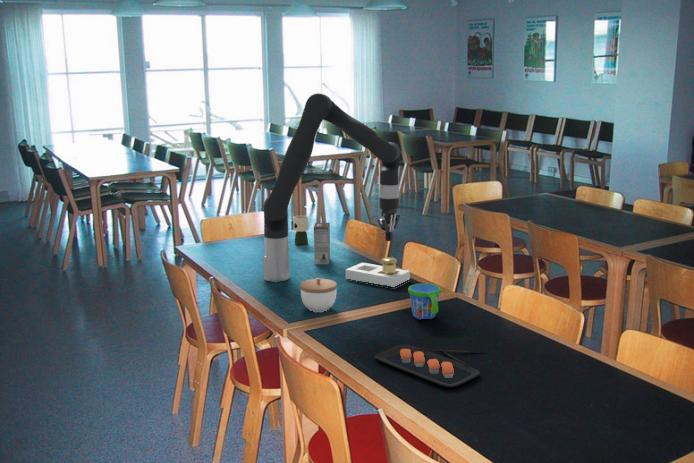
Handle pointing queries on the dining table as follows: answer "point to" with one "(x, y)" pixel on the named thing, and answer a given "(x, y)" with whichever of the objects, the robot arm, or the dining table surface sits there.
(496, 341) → the dining table surface
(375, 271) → the frame
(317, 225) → the coffee box
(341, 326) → the dining table surface
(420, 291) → the snack cup
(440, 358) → the sushi plate
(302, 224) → the character mug
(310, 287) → the lidded bowl
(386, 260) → the gold piece
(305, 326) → the dining table surface
